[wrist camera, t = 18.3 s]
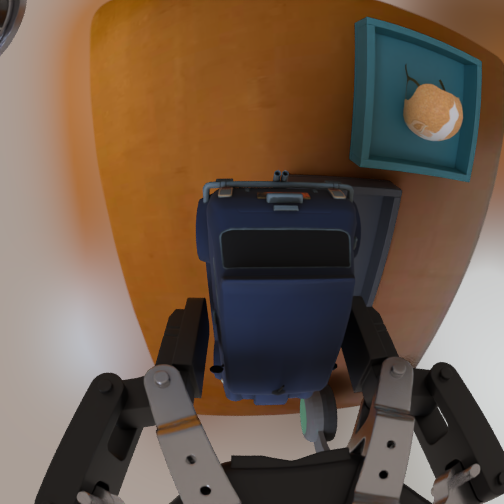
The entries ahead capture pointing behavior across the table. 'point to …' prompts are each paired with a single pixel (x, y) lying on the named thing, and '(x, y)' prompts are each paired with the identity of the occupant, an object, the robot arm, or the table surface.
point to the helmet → (432, 112)
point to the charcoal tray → (368, 227)
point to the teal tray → (393, 96)
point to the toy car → (277, 282)
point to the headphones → (319, 418)
